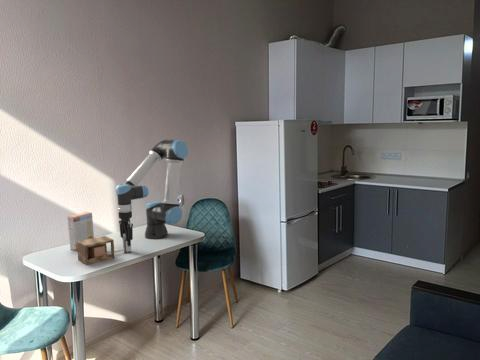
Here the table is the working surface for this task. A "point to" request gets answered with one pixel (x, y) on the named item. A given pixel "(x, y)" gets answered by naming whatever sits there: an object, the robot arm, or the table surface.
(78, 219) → the cracker box
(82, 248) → the cubby
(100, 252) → the u-shaped stand
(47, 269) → the table surface
